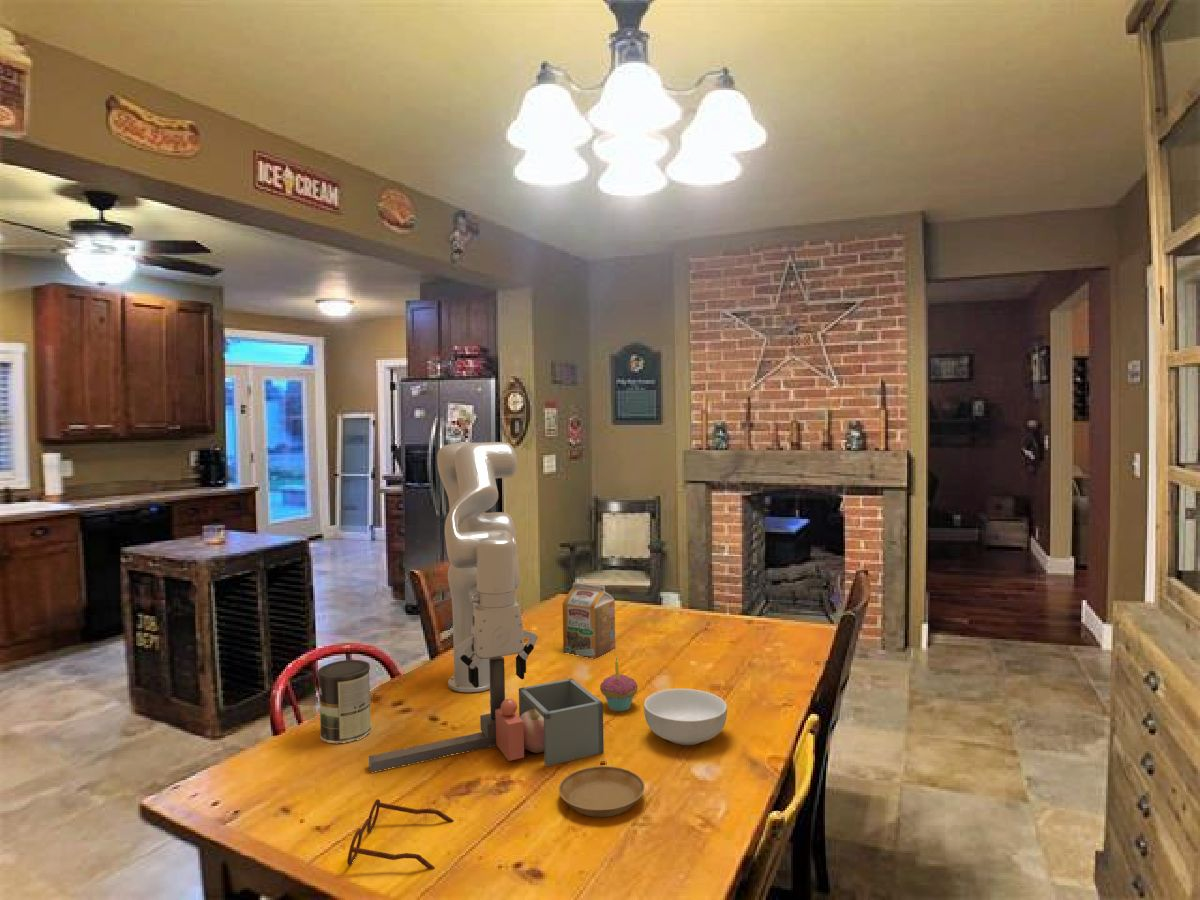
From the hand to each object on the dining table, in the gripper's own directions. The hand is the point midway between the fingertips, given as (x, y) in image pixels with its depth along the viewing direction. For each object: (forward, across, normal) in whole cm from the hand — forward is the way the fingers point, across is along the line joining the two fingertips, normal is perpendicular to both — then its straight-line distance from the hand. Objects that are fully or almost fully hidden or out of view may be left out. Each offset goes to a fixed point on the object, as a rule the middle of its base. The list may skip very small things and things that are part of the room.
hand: (497, 681), depth 148 cm
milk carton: (+14, +40, +42) cm, 60 cm away
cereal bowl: (+12, +34, -17) cm, 40 cm away
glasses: (+12, -25, -28) cm, 39 cm away
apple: (+12, +5, -8) cm, 16 cm away
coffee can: (+13, -28, +18) cm, 36 cm away
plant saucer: (+12, +8, -31) cm, 34 cm away
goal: (+12, +10, -8) cm, 18 cm away
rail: (+12, -12, -1) cm, 17 cm away
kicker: (+11, 0, -5) cm, 12 cm away
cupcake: (+13, +29, +3) cm, 32 cm away
